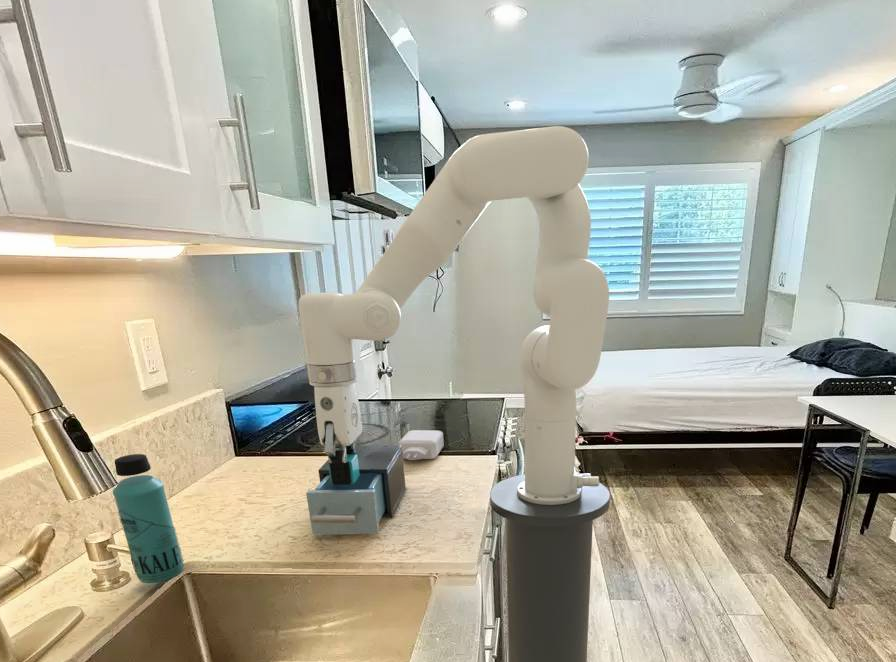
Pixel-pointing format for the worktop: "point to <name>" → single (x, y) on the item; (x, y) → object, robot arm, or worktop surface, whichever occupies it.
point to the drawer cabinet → (381, 471)
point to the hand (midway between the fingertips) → (345, 478)
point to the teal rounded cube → (351, 467)
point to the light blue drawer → (348, 505)
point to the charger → (421, 444)
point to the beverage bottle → (147, 521)
